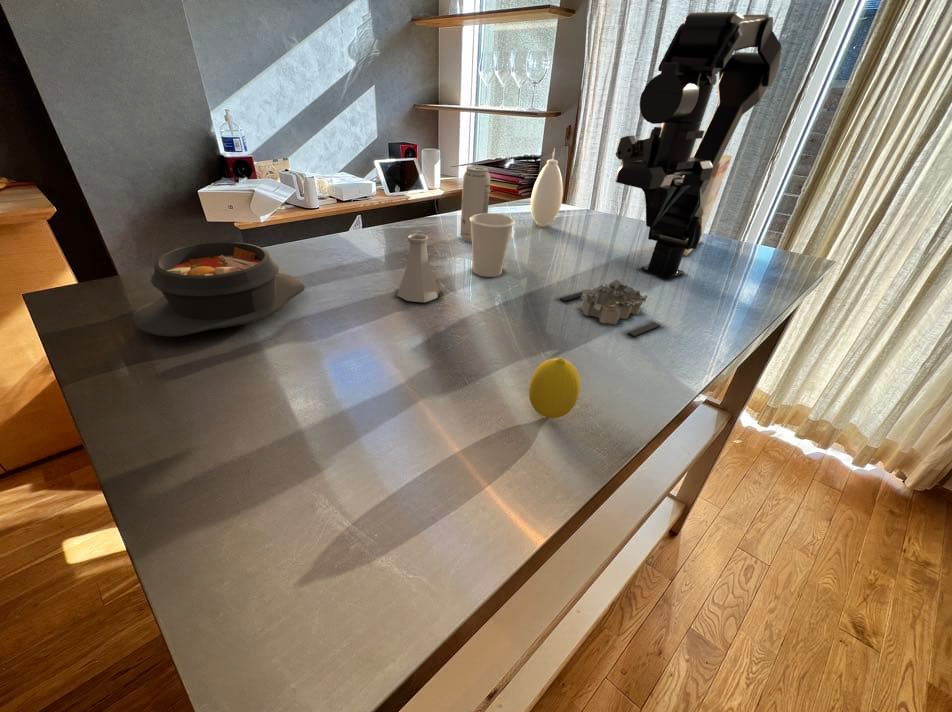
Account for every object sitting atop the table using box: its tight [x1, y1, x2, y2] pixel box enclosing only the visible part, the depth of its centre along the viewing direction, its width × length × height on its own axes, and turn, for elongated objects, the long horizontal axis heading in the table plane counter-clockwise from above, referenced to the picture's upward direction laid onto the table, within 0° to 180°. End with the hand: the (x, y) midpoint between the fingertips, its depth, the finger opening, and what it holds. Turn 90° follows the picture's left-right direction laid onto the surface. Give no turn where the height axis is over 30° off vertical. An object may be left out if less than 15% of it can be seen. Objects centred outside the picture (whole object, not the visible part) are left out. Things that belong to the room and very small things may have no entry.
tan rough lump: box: [580, 279, 648, 325], centre depth 75 cm, size 11×8×4 cm
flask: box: [396, 233, 440, 304], centre depth 74 cm, size 7×7×10 cm
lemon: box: [528, 357, 581, 419], centre depth 49 cm, size 6×6×8 cm
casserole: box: [131, 241, 306, 338], centre depth 66 cm, size 25×19×8 cm
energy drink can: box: [459, 165, 492, 243], centre depth 100 cm, size 6×6×15 cm
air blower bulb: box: [530, 147, 564, 228], centre depth 111 cm, size 8×8×18 cm
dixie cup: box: [470, 212, 515, 278], centre depth 85 cm, size 8×8×10 cm
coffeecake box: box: [682, 154, 733, 256], centre depth 103 cm, size 15×7×20 cm, turn 144°
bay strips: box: [559, 291, 661, 338], centre depth 76 cm, size 7×16×1 cm, turn 36°
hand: (649, 226), depth 77 cm, fingers closed
